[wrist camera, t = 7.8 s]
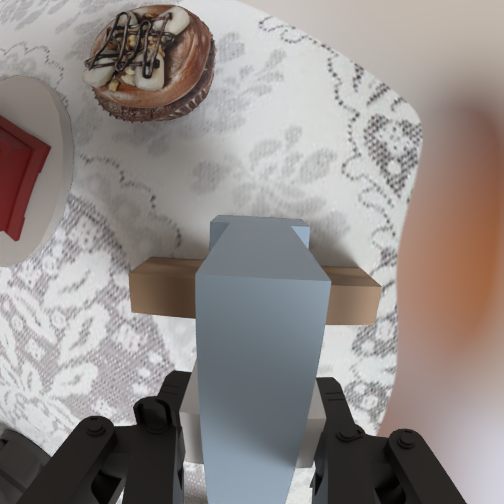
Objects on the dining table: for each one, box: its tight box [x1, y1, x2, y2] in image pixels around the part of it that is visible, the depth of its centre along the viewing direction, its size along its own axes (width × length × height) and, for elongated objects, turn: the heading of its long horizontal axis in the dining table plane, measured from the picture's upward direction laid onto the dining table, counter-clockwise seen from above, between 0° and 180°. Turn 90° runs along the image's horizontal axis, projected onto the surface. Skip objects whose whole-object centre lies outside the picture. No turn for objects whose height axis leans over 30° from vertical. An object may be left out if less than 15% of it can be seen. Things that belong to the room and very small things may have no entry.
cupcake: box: [82, 5, 217, 123], centre depth 17 cm, size 10×10×10 cm
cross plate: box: [195, 215, 331, 504], centre depth 14 cm, size 12×5×12 cm, turn 177°
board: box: [129, 257, 382, 325], centre depth 23 cm, size 18×3×5 cm, turn 87°
